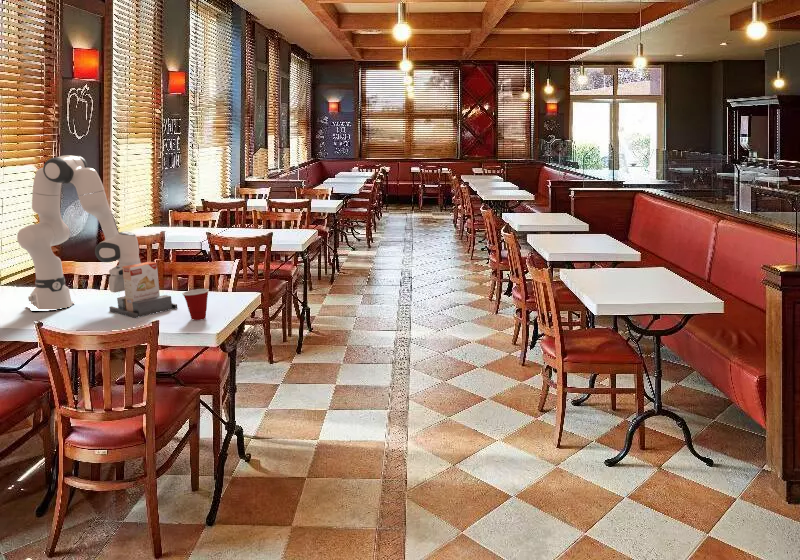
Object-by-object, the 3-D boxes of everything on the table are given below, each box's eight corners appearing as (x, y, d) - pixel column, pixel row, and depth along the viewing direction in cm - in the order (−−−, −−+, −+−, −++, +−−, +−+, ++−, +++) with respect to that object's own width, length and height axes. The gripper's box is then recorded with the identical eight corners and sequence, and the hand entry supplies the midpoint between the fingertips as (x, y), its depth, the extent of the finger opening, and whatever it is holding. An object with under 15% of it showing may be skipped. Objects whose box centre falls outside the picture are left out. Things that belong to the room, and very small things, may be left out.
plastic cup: (193, 314, 308) (191, 287, 306) (216, 315, 305) (213, 288, 303) (179, 321, 298) (176, 293, 296) (202, 322, 295) (199, 294, 293)
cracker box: (135, 315, 311) (129, 267, 307) (126, 313, 314) (121, 266, 310) (161, 308, 322) (157, 262, 318) (153, 306, 326) (148, 260, 321)
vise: (109, 311, 319) (108, 298, 318) (150, 302, 334) (149, 289, 333) (136, 318, 305) (134, 304, 304) (177, 308, 320) (176, 295, 319)
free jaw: (118, 311, 318) (117, 297, 317) (151, 303, 330) (150, 291, 329) (124, 312, 315) (122, 299, 314) (157, 305, 327) (156, 292, 326)
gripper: (147, 263, 331) (150, 293, 334) (105, 271, 316) (109, 301, 319) (155, 265, 327) (158, 294, 330) (112, 272, 312) (116, 303, 315)
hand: (133, 298), depth 324 cm, fingers closed, pressing on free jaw
